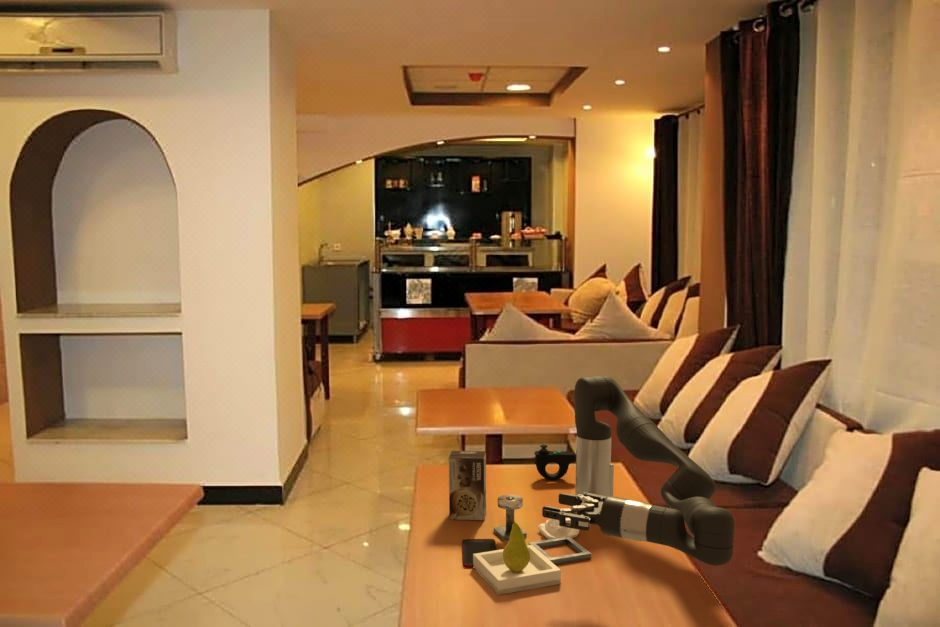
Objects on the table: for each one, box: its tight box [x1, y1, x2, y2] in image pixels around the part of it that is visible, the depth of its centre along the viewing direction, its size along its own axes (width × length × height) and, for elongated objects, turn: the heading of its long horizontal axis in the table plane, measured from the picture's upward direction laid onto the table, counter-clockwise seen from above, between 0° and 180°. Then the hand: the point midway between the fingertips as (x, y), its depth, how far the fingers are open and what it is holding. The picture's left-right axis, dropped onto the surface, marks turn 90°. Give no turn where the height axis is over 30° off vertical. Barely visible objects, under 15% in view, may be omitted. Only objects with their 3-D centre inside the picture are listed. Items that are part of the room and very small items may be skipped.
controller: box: [533, 444, 576, 481], centre depth 239 cm, size 4×12×10 cm, turn 89°
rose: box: [537, 518, 580, 540], centre depth 199 cm, size 10×4×10 cm
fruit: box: [503, 514, 530, 572], centre depth 175 cm, size 6×6×12 cm
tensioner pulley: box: [493, 494, 528, 541], centre depth 198 cm, size 6×6×9 cm
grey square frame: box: [528, 537, 592, 566], centre depth 188 cm, size 10×10×1 cm
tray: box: [473, 544, 562, 596], centre depth 176 cm, size 14×14×3 cm
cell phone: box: [461, 538, 498, 569], centre depth 187 cm, size 8×15×1 cm, turn 2°
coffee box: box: [448, 450, 487, 521], centre depth 210 cm, size 9×6×16 cm
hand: (551, 504), depth 170 cm, fingers open, 8 cm apart
